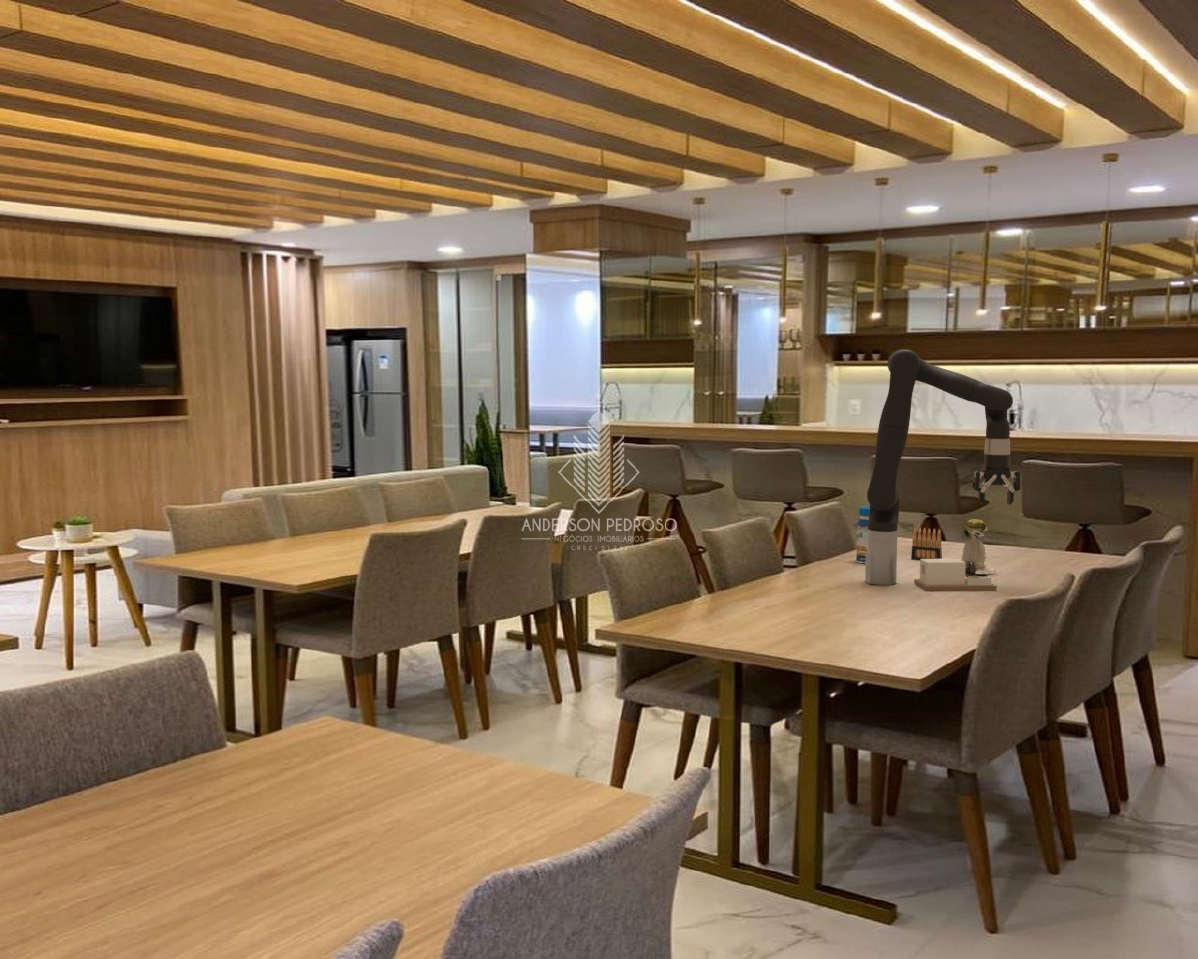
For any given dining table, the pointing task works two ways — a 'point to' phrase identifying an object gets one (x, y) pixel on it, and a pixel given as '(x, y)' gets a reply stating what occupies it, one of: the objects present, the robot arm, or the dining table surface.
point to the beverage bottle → (862, 534)
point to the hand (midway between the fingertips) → (995, 504)
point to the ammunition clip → (926, 545)
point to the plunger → (970, 569)
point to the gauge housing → (950, 577)
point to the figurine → (976, 546)
